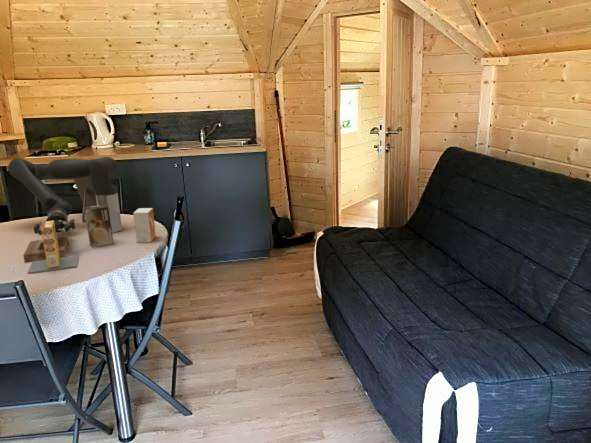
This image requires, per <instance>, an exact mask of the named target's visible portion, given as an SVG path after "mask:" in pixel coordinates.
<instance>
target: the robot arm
mask: <svg viewBox="0 0 591 443" xmlns="http://www.w3.org/2000/svg"><path fill="white" fill-rule="evenodd" d="M7 168H8V173H9V175H11V176H12V177H13V178H15V179H16V180H18V182H20V183H21V184H23V186H24V187H26V188H27V189H28V190H29V192H31V194H33V196H35V197H36V199H37V200H38V201H39V202H40V203H41V205H43V207H44V208H46V209H49V211H47V213H46V216H47V218H46V220H45V222H46V221H54V224H55V230H56V233H61V232H65V233H68V232H69V231H70V230H75V229H76V223H75V219H71V220H69V221H68V218H69V217H68V216H69V215H70V214H71V213H72V212H73V205H72V204H71V203H70V202H68V201H67V200H64V199H63V198H61V197H60V196H58V195H57V194H56V193H55V192H54V191H53V189H52V188H50V186H48V185H47V184H46V183H45V182H43V181H44V180H46V181H50V180H51V181H52V180H56V181H57V180H59V181H60V180H63V181H64V180H73V179H76V178H81V177H86V176H90V177H91V182H92V187H93V189H94V191H95V194H96V201H97V205H104V204H106V205H107V206H108V208H109V214H110V221H111V228H112V234H113V233H117V232H121V231H123V226H122V219H121V218H122V217H121V208H120V203H119V194H118V188H117V186H116V185H113V184H112V182H111V178H112V177H114V176H115V175H117V173H118V171H119V164H118V161H116V160H115V159H113V158H112V157H110V156H109V157H108V156H103V157H100V158H93V159H84V158H83V159H82V158H80V159H79V158H58V159H54V160H51V161H50V162H48V163H47V164H37V163H36V164H35V163H33V162H30V161H28V160H27V159H24V158H21V157H19V158H18V157H16V158H13V159H12V160H11V161H9V164H8V166H7ZM41 225H42V224H40V223H36V224H35V225H34V226H33V231H34V234H36V235H37V234H38V235H40V236H42V233H41Z"/></svg>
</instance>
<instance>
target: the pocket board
mask: <svg viewBox="0 0 591 443" xmlns="http://www.w3.org/2000/svg"><path fill="white" fill-rule="evenodd" d="M57 241H58V246H59V252H60V258H63V257H67V251H68V249H69V248H68V247H69V244H70V242H69V236H63V237H57ZM23 260H24V263H30V262H31V263H32V261H40V260H47V259H46V254H45V249H44V244H43V239H37V240H30V241H29V242H28V245H27V246H26V249H25V251H24V252H23Z"/></svg>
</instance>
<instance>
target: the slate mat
mask: <svg viewBox="0 0 591 443" xmlns="http://www.w3.org/2000/svg"><path fill="white" fill-rule="evenodd" d="M79 259H80V256H79V255H71V256H65V257H63V258H61V260H60V266H57V267H51V268H48V265H47V260H39V261H32V262H31V264H30V266H29V268H28V271H27V275H32V274H39V273H46V272H52V271H53V272H54V271H61V270H68V269H77V268H78V264H79Z"/></svg>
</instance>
